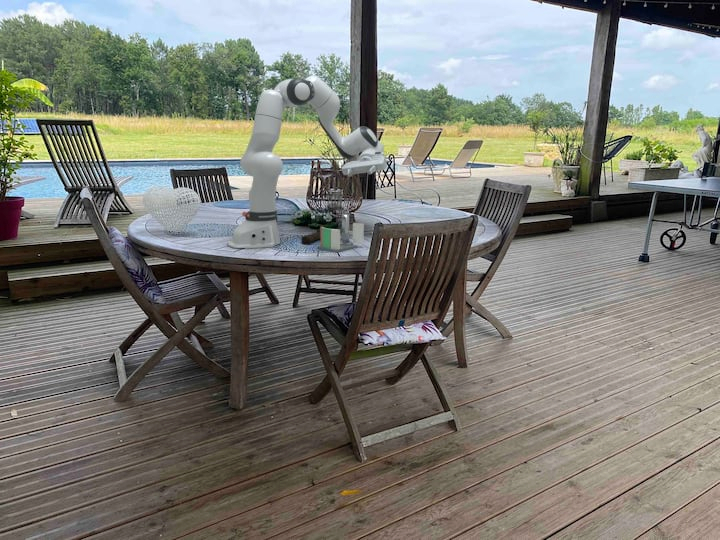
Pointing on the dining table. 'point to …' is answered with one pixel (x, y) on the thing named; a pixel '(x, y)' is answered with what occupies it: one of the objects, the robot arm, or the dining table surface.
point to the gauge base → (333, 241)
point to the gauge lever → (357, 231)
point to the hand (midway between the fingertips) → (359, 173)
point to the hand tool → (311, 237)
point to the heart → (175, 192)
